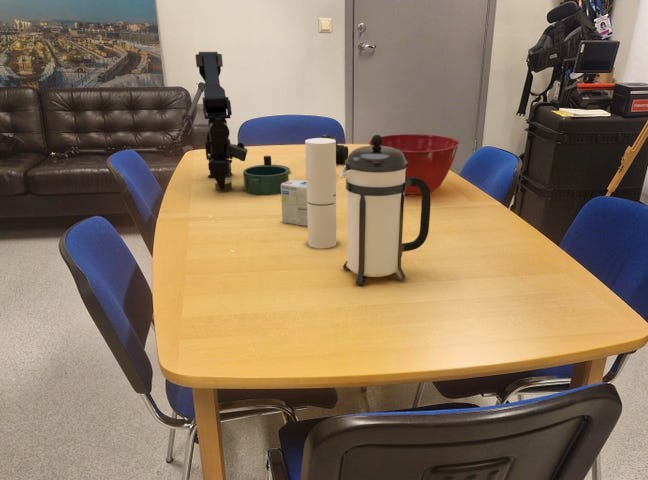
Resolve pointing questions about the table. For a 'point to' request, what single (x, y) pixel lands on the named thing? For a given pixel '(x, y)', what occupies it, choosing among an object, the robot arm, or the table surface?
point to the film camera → (339, 151)
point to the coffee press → (379, 210)
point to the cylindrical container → (321, 192)
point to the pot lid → (268, 163)
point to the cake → (227, 185)
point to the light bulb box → (294, 202)
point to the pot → (265, 179)
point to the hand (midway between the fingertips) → (223, 186)
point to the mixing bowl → (424, 157)
